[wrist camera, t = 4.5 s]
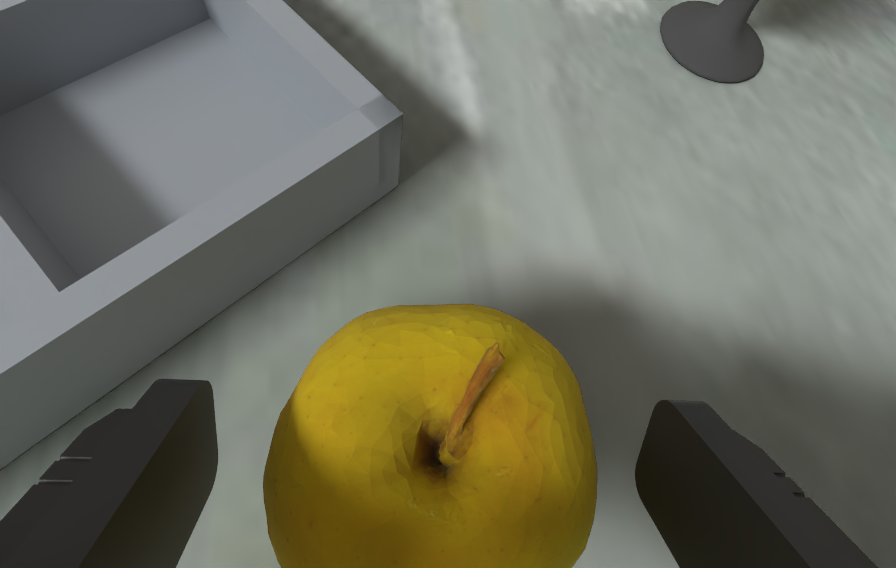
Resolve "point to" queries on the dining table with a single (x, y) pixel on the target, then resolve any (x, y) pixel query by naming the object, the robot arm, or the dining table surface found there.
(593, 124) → the dining table surface
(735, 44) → the sundae
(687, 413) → the robot arm
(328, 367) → the apple
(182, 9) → the tray
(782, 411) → the dining table surface
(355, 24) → the dining table surface
